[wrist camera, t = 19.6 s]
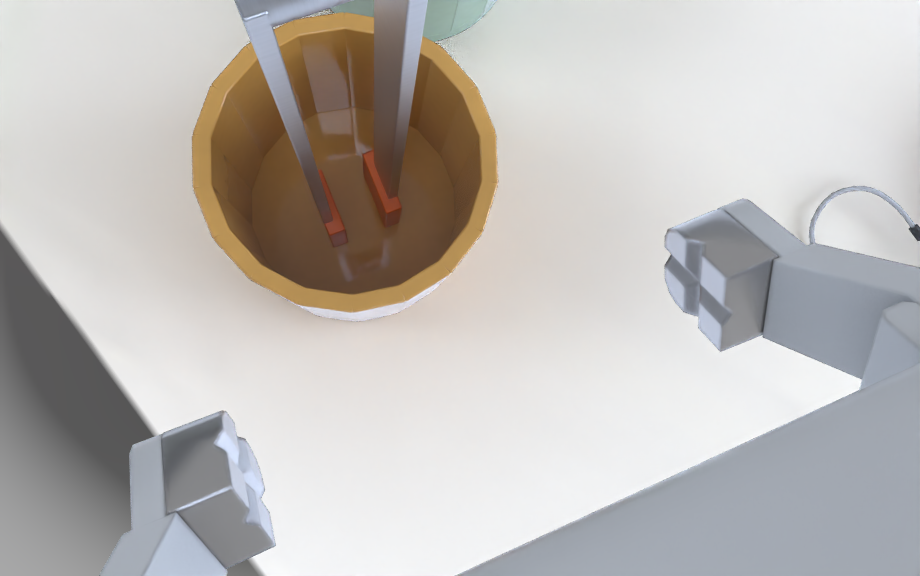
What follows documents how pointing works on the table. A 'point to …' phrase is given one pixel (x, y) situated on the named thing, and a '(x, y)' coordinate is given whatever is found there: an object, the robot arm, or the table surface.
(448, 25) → the green crock
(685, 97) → the table surface
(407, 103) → the tongs
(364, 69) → the ochre crock
